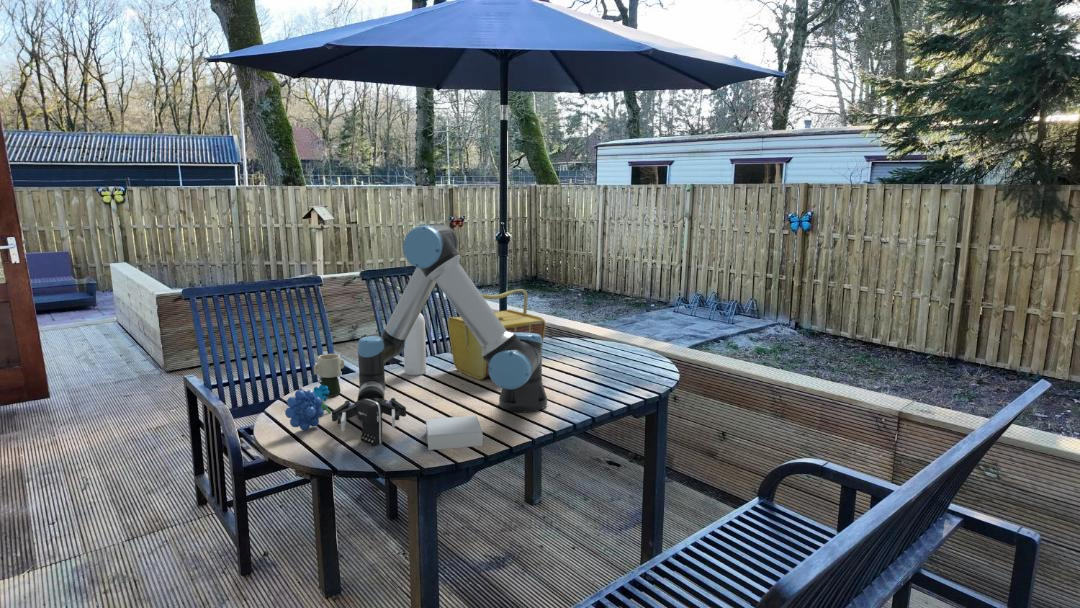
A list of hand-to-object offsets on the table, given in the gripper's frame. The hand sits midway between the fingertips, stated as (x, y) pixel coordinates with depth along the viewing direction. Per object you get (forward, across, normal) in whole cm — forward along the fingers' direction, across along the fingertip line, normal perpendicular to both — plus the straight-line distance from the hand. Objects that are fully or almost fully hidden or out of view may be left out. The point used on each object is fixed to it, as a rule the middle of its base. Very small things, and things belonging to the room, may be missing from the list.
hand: (368, 424), depth 161 cm
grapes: (-16, +17, -7) cm, 24 cm away
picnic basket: (-67, -44, -7) cm, 80 cm away
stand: (-2, -22, -6) cm, 23 cm away
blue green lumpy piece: (-32, +16, -7) cm, 36 cm away
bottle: (-69, -14, -7) cm, 70 cm away
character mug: (-48, +14, -7) cm, 50 cm away
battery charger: (-4, 0, -7) cm, 8 cm away
